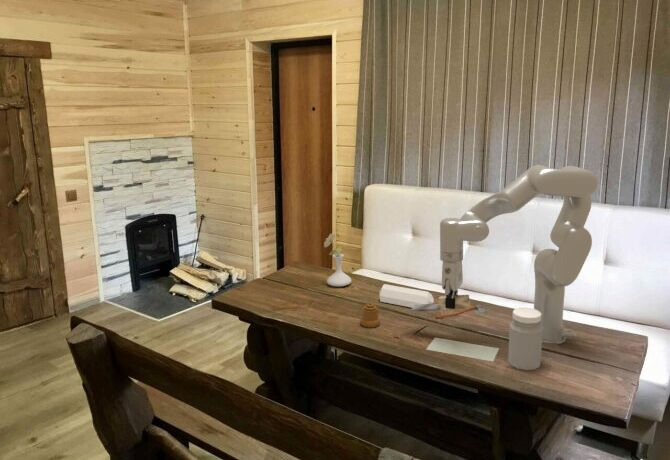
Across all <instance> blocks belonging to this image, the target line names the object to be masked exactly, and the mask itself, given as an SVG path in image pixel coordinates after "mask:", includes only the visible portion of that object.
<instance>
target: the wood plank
mask: <svg viewBox="0 0 670 460" xmlns="http://www.w3.org/2000/svg"><path fill="white" fill-rule="evenodd" d="M426 326H428V324H423V323H422V324H420V325H418V326H414V327H406V328H404V329H402V330H401V331H400V332H399V333H398V334H397V335H395V336H393V337H395V338H398V339H399V340H402V339H405V338H408V339H409V338H411V337H413V336H414V335H415V334H416V333H418V331H420V330H422V329H423V328H425V327H426Z"/></svg>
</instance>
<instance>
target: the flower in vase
mask: <svg viewBox="0 0 670 460" xmlns="http://www.w3.org/2000/svg"><path fill="white" fill-rule="evenodd" d="M335 237H336V233H335V232H333V231H332V233H329V235H328V237H326V238H325V241H324V243H323V247H324V248H327V247H329V246H330V245H331V244H332V246H333V248H334V249H333V250H331V251H330V252H329V255H328V256H332V257H333V259H334V261H335V266H336V269H335V272H334V273H332V274H331V275H329V277H328V278H327V279H326V283H327V284H328V285H330V286H332V287H344V286H347V285H350V284H351V283H352V278H351V277H350V276H349V275H348V274H346V273H345V272H343V270H342V260H343V258H344V257H345V255H344V254H343V253H341V252H342V246H338V247H337V248H336V246H335V244H334V242H333V241H334V239H335Z"/></svg>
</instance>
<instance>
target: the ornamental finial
mask: <svg viewBox="0 0 670 460" xmlns="http://www.w3.org/2000/svg"><path fill="white" fill-rule="evenodd" d="M359 322H360V324H361V326H362V327H363V328H368V329H372V328H377V327H378V326H380V324H381V318H380V317H379V308H378V307H377V305H375V304H374V303H367V304H365V305H364V306H363V307H362V317H361V318H360V321H359Z"/></svg>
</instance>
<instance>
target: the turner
mask: <svg viewBox="0 0 670 460" xmlns="http://www.w3.org/2000/svg"><path fill="white" fill-rule="evenodd" d="M454 298H455V309H454V310H464V309H469V308H470V307H472V305H471V299H470V294H458V295H454ZM437 302H438V303H433V304H419V305H415V306H414V307H413V308H411V309H410V311H411V313H412V312H415V313H417V312H419V313H420V312H440V311H446V310H453V309H448V308H446V307H445V295H440V296H439V297H438V298H437Z"/></svg>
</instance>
